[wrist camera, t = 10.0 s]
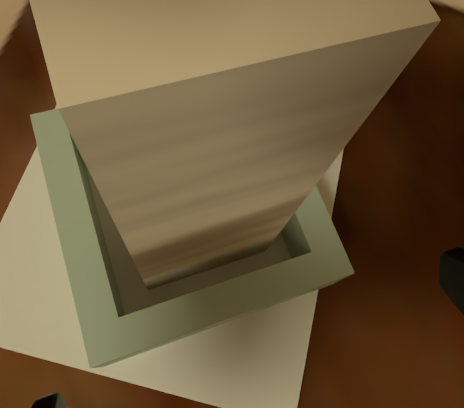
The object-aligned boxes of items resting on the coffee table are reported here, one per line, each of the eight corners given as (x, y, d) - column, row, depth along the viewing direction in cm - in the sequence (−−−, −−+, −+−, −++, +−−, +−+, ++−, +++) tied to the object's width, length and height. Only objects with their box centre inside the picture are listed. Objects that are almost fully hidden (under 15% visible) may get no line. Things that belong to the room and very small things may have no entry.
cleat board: (300, 427, 17) (329, 443, 13) (-39, 334, 17) (-94, 328, 13) (352, 131, 22) (382, 90, 18) (90, 57, 21) (73, 2, 18)
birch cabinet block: (265, 251, 18) (441, 21, 6) (147, 290, 17) (58, 109, 5) (219, 132, 20) (280, -242, 7) (110, 161, 19) (-28, -219, 6)
